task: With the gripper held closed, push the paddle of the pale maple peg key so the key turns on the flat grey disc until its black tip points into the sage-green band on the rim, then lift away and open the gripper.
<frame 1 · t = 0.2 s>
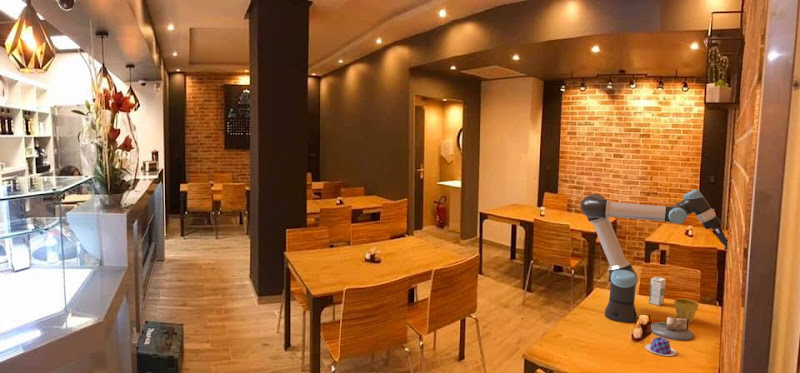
hand: (735, 257, 234), 35 cm above the table, tool tilted 35°, fingers open, 13 cm apart
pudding: (660, 351, 210), on the table
flat grey disc: (670, 332, 230), on the table
plant pot: (684, 320, 247), on the table
tuning peg: (677, 323, 230), point 4 cm above the table, hinge at 0.0°
syrup box: (656, 303, 272), on the table
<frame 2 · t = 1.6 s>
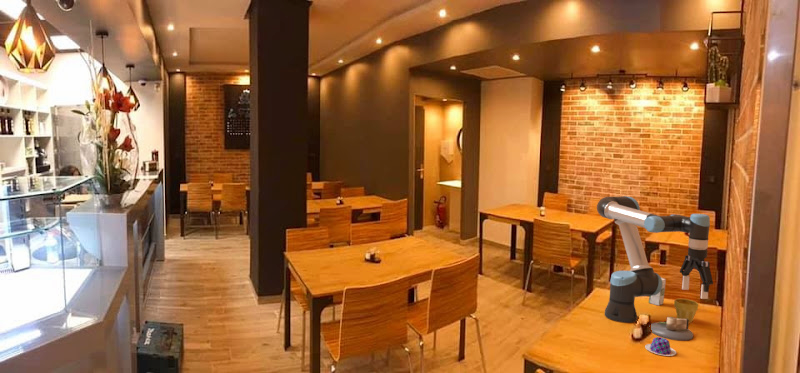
hand: (694, 294, 222), 21 cm above the table, tool pointing down, fingers open, 13 cm apart
nothing on the table moved.
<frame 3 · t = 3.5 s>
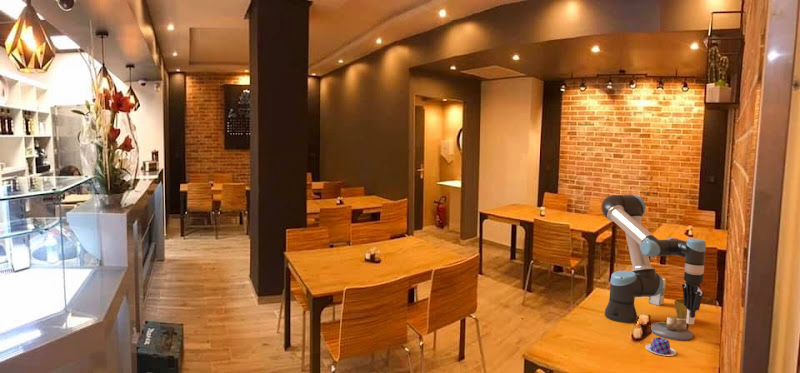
hand: (690, 323, 223), 7 cm above the table, tool pointing down, fingers closed
nothing on the table moved.
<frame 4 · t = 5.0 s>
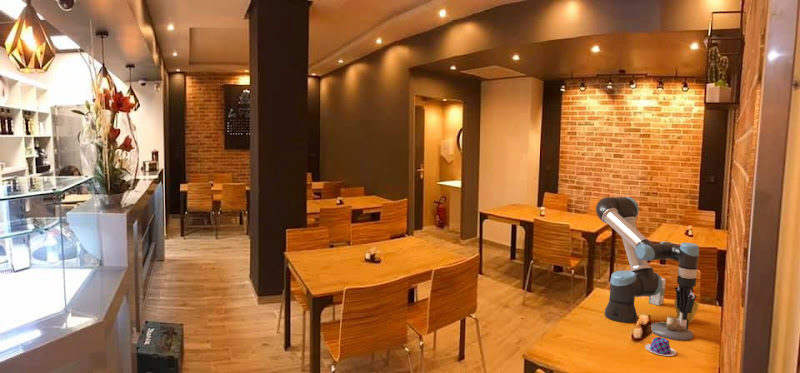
hand: (682, 325, 228), 4 cm above the table, tool pointing down, fingers closed
tuning peg: (677, 323, 230), point 4 cm above the table, hinge at 0.0°, touching gripper
everything else where it was.
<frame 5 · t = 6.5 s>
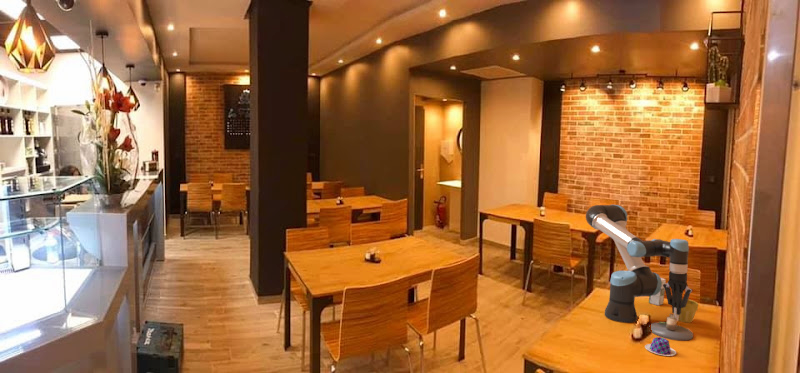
hand: (676, 320, 232), 5 cm above the table, tool pointing down, fingers closed
tuning peg: (671, 321, 232), point 4 cm above the table, hinge at 60.0°, touching gripper
everything else where it was.
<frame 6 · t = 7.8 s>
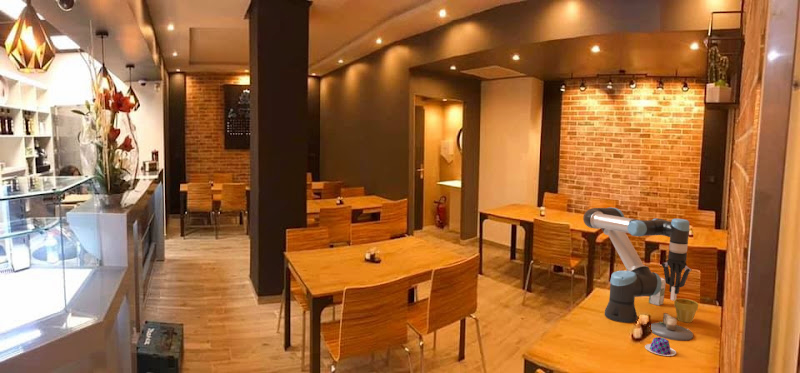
hand: (673, 299, 234), 15 cm above the table, tool pointing down, fingers closed
tuning peg: (669, 321, 232), point 4 cm above the table, hinge at 80.7°
everything else where it was.
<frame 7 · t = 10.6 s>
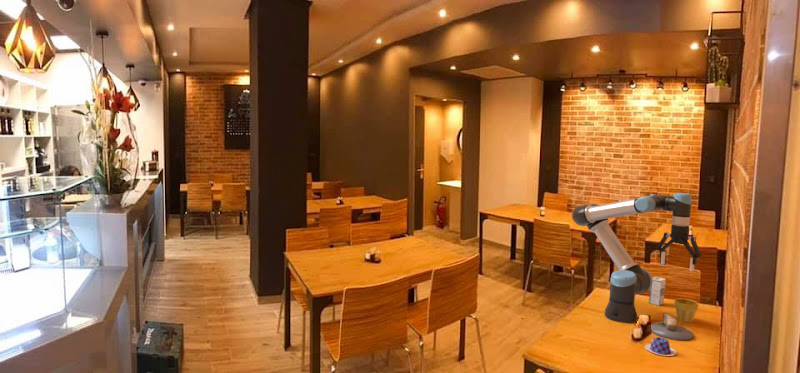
hand: (676, 267, 238), 29 cm above the table, tool pointing down, fingers open, 13 cm apart
nothing on the table moved.
at the end: tuning peg at +81° (first picture: +0°) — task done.
